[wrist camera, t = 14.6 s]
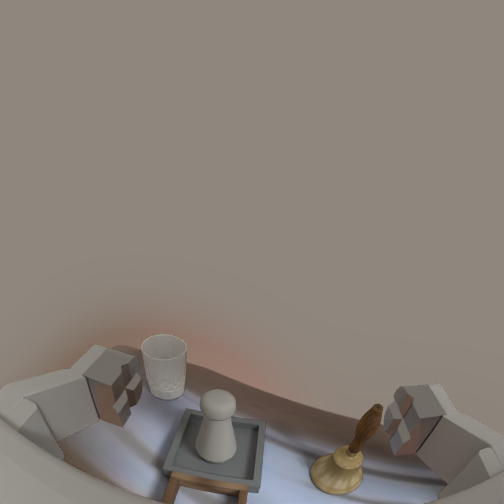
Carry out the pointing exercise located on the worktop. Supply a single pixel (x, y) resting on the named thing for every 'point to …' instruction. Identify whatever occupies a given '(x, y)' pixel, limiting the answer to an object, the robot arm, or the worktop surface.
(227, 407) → the salt shaker
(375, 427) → the hand bell
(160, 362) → the white cup
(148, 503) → the robot arm
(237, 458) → the tray
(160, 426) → the worktop surface
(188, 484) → the collar
